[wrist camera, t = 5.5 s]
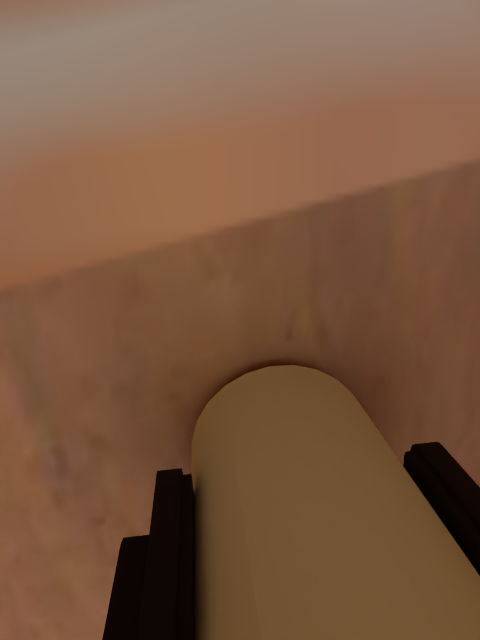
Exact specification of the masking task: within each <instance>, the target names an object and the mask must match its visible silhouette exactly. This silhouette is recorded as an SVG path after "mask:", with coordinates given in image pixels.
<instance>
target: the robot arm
mask: <svg viewBox="0 0 480 640" xmlns="http://www.w3.org/2000/svg"><path fill="white" fill-rule="evenodd" d="M403 467H404V468H405V469H406V471H407V472H408V474H409V475H410V477H411V478H412V480H413V481H414V482H415V484H416V485H417V487H418V488H419V490H420V491H421V492H422V494H423V495H424V497H425V498H426V500H427V501H428V502H429V504H430V505H431V507H432V508H433V510H434V511H435V512H436V514H437V515H438V517H439V518H440V520H441V521H442V523H443V524H444V525H445V527H446V528H447V530H448V531H449V533H450V534H451V535H452V537H453V538H454V540H455V541H456V543H457V544H458V545H459V547H460V548H461V550H462V551H463V553H464V554H465V556H466V557H467V558H468V560H469V561H470V563H471V564H472V566H473V567H474V568H475V570H476V571H477V573H478V574H479V576H480V487H479V486H478V485H477V484H476V483H475V482H474V481H473V480H472V478H471V477H470V476H469V475H468V474H467V473H466V472H465V470H464V469H463V468H462V467H461V466H460V465H459V464H458V463H457V461H456V460H455V459H454V458H453V457H452V456H451V455H450V454H449V452H448V451H447V450H446V449H445V448H444V447H443V446H442V445H441V444H440V443H439V442H430V443H421V444H414V445H412V447H411V450H410V451H407V452H405V454H404V463H403ZM102 640H194V491H193V481H192V474H186V475H183V472H182V468H180V469H170V470H160V471H157V475H156V484H155V492H154V500H153V509H152V517H151V526H150V534H149V535H143V536H134V537H125V538H123V540H122V542H121V546H120V551H119V556H118V561H117V567H116V572H115V577H114V582H113V587H112V593H111V598H110V603H109V608H108V613H107V619H106V624H105V629H104V634H103V639H102Z"/></svg>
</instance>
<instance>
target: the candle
mask: <svg viewBox="0 0 480 640" xmlns="http://www.w3.org/2000/svg"><path fill="white" fill-rule="evenodd" d="M191 474H192V481H193V491H194V640H480V576H479V574H478V573H477V571H476V570H475V568H474V567H473V566H472V564H471V563H470V561H469V560H468V558H467V557H466V556H465V554H464V553H463V551H462V550H461V548H460V547H459V545H458V544H457V543H456V541H455V540H454V538H453V537H452V535H451V534H450V533H449V531H448V530H447V528H446V527H445V525H444V524H443V523H442V521H441V520H440V518H439V517H438V515H437V514H436V512H435V511H434V510H433V508H432V507H431V505H430V504H429V502H428V501H427V500H426V498H425V497H424V495H423V494H422V492H421V491H420V490H419V488H418V487H417V485H416V484H415V482H414V481H413V480H412V478H411V477H410V475H409V474H408V472H407V471H406V469H405V468H404V467H403V465H402V464H401V462H400V461H399V459H398V458H397V457H396V455H395V454H394V452H393V451H392V449H391V448H390V447H389V445H388V444H387V442H386V441H385V439H384V438H383V437H382V435H381V434H380V432H379V431H378V429H377V428H376V426H375V425H374V424H373V422H372V421H371V419H370V418H369V416H368V415H367V414H366V412H365V411H364V409H363V408H362V406H361V405H360V404H359V402H358V401H357V399H356V398H355V396H354V395H353V394H352V393H351V392H350V391H349V390H348V389H347V388H346V387H345V386H344V385H343V384H342V383H340V382H339V381H338V380H337V379H335V378H333V377H331V376H329V375H327V374H325V373H323V372H321V371H319V370H317V369H312V368H307V367H302V366H297V365H283V366H269V367H265V368H262V369H259V370H255V371H252V372H249V373H246V374H244V375H242V376H240V377H239V378H237V379H235V380H234V381H232V382H230V383H229V384H227V385H225V386H224V387H223V388H222V389H221V390H220V391H219V392H218V393H217V394H216V395H215V396H214V397H213V398H212V399H211V400H210V401H209V402H208V403H207V405H206V406H205V408H204V410H203V412H202V413H201V415H200V417H199V418H198V420H197V422H196V426H195V430H194V434H193V438H192V442H191Z"/></svg>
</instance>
